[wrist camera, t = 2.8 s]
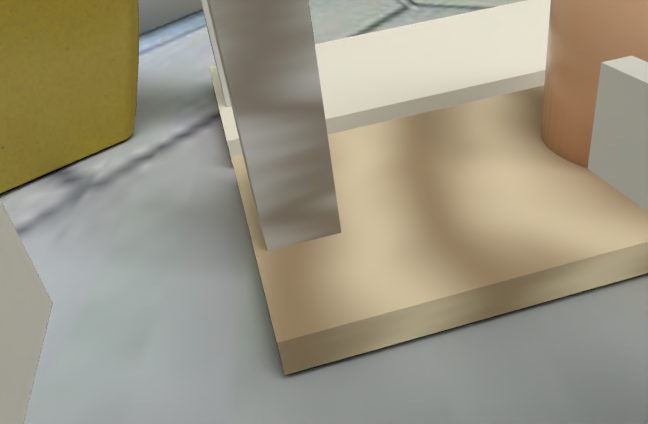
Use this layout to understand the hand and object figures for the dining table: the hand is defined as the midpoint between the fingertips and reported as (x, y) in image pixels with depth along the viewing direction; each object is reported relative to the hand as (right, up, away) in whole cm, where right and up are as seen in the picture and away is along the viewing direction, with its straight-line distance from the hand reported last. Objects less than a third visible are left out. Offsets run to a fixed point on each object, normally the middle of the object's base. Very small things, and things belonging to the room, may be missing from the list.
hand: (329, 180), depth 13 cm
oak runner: (+12, +1, +14) cm, 19 cm away
